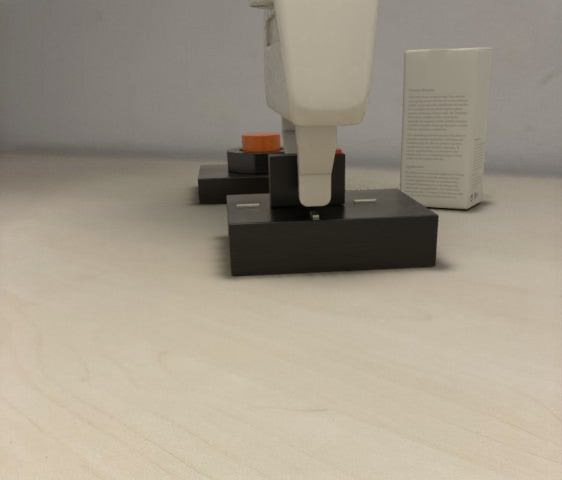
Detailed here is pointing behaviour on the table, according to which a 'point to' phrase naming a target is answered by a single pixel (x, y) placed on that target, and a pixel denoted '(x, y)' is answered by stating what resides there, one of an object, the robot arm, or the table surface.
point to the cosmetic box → (445, 125)
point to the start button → (261, 142)
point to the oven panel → (330, 234)
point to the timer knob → (286, 179)
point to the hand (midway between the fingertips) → (306, 194)
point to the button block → (235, 176)
